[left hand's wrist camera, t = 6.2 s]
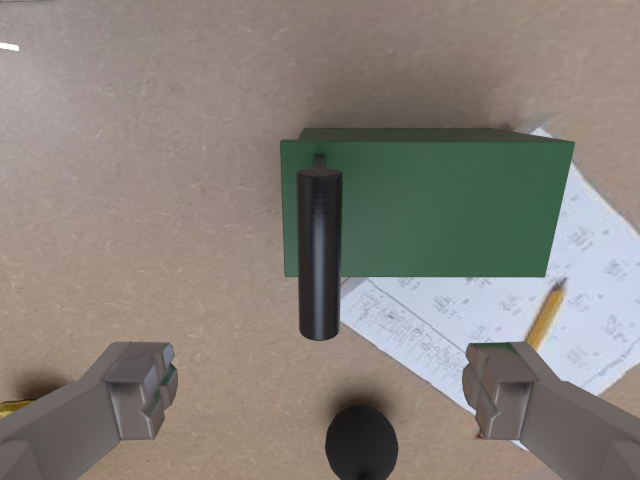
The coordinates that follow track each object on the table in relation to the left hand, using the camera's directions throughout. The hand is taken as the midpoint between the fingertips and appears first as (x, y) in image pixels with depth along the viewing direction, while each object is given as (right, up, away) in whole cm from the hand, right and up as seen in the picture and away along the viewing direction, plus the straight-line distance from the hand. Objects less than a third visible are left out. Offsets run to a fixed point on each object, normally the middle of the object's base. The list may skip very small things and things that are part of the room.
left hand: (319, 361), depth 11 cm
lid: (+6, +6, +15) cm, 17 cm away
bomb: (+4, -18, +35) cm, 39 cm away
